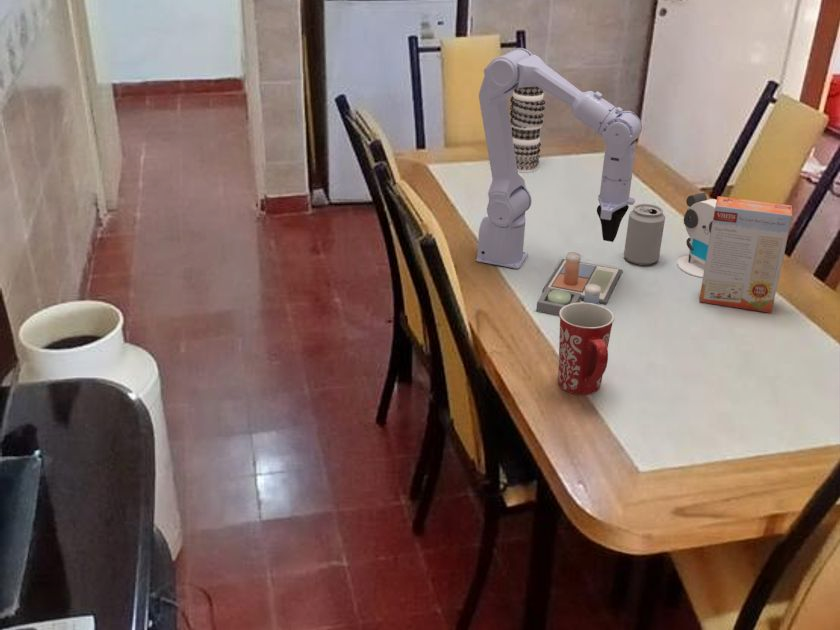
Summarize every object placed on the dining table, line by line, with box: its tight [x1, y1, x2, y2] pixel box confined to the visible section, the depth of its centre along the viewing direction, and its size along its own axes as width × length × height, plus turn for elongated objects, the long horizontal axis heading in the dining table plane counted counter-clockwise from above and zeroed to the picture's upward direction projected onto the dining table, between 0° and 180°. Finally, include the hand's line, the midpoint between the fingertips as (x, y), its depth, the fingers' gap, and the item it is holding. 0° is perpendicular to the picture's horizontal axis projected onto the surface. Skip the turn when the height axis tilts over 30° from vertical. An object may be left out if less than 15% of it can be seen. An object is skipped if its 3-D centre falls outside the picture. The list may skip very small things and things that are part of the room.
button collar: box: [535, 287, 581, 316], centre depth 186 cm, size 7×7×2 cm
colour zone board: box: [542, 258, 623, 306], centre depth 196 cm, size 13×16×1 cm
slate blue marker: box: [583, 284, 601, 305], centre depth 182 cm, size 3×3×6 cm
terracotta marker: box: [564, 251, 582, 285], centre depth 192 cm, size 3×3×6 cm
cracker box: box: [698, 196, 793, 314], centre depth 185 cm, size 14×6×21 cm, turn 71°
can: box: [623, 203, 666, 266], centre depth 203 cm, size 8×8×12 cm
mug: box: [557, 301, 615, 396], centre depth 157 cm, size 13×9×14 cm
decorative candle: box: [509, 86, 546, 174], centre depth 249 cm, size 9×9×25 cm
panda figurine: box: [676, 192, 717, 279], centre depth 200 cm, size 12×11×15 cm
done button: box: [548, 290, 571, 305], centre depth 186 cm, size 4×4×2 cm
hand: (608, 239), depth 191 cm, fingers closed
